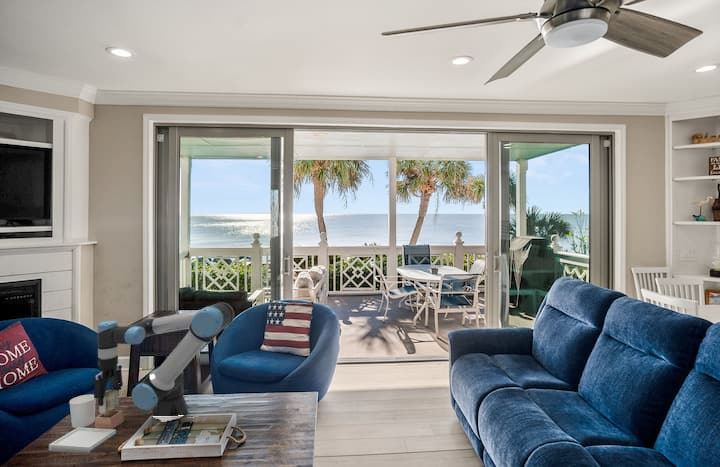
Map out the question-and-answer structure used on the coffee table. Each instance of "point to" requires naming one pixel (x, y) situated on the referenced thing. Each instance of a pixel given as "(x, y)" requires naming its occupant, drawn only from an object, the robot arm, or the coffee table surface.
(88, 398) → the candle holder
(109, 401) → the birch dowel
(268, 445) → the coffee table surface
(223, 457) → the coffee table surface
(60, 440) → the off-white tray
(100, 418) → the terracotta square planter
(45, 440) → the coffee table surface
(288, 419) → the coffee table surface
